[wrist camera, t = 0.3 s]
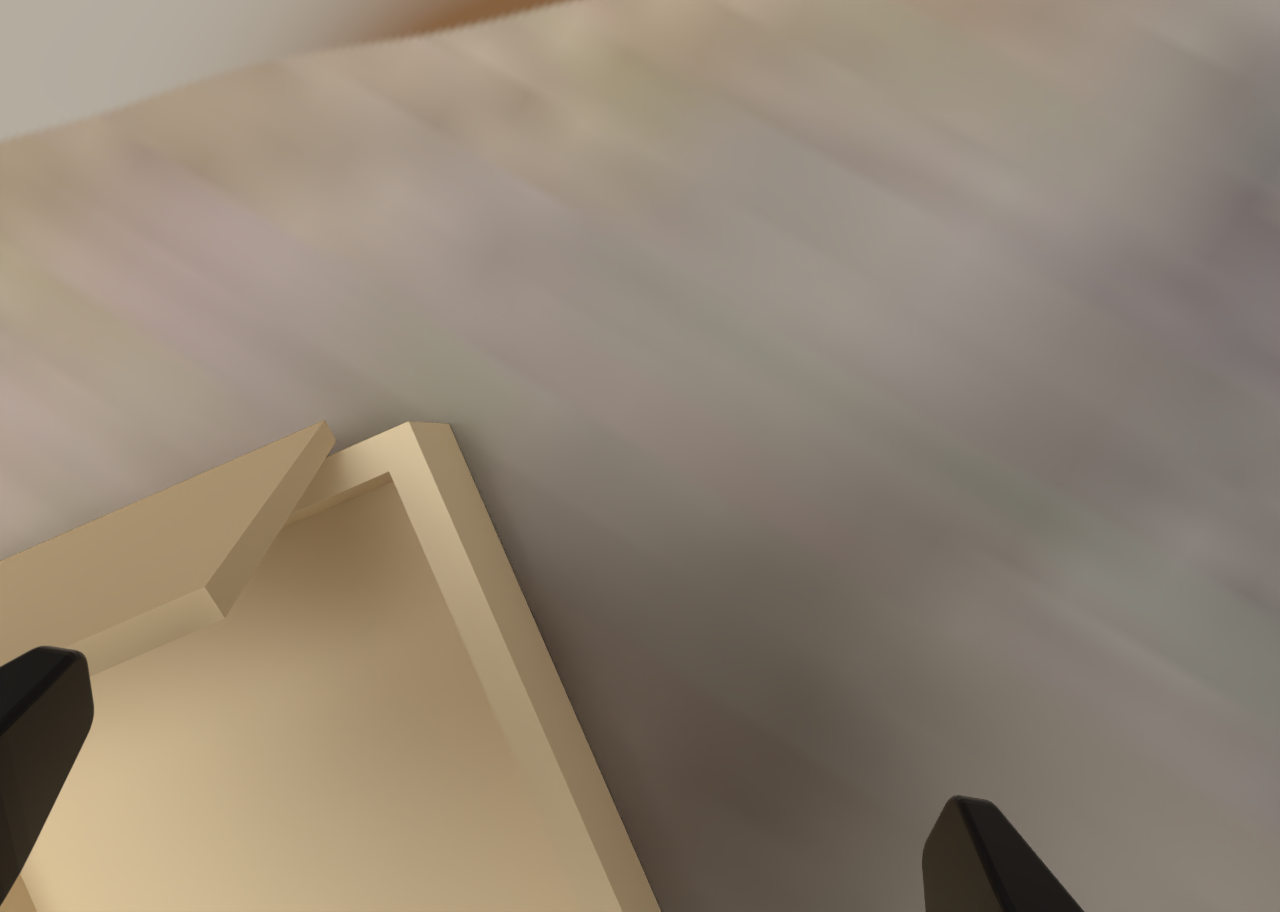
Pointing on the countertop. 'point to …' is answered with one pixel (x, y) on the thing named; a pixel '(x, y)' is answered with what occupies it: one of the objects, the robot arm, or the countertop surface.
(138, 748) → the cream shallow tray
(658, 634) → the countertop surface
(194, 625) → the flap
